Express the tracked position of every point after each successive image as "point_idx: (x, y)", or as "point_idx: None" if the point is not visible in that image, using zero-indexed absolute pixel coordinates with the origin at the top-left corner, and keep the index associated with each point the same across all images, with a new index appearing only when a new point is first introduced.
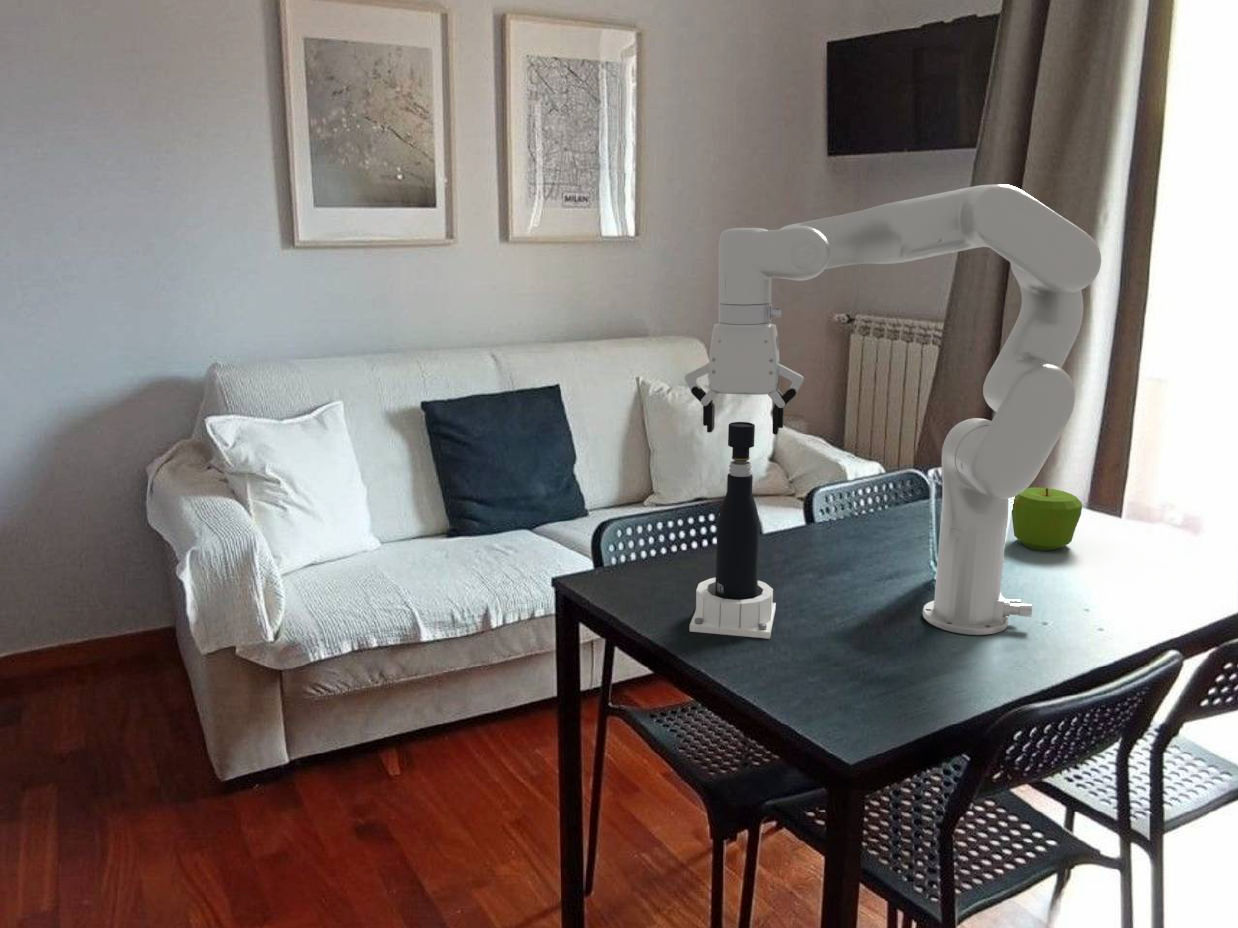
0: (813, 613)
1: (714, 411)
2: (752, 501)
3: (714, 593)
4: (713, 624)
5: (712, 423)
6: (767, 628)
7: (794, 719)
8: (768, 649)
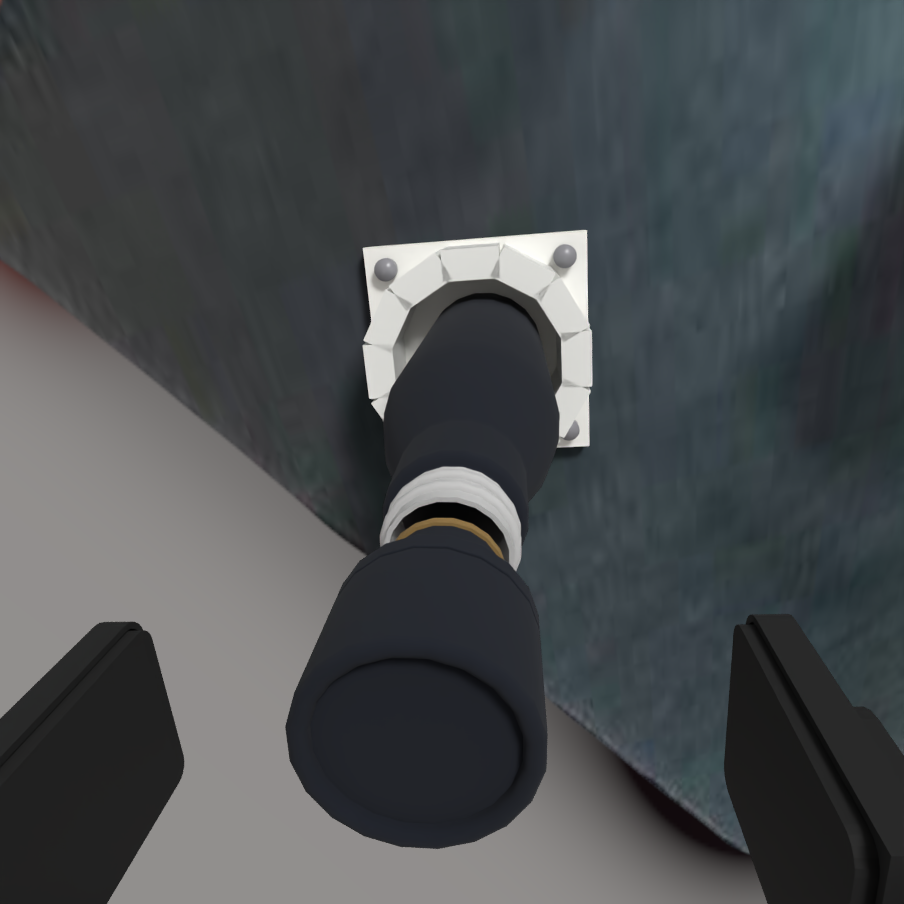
0: (698, 230)
1: (40, 743)
2: (532, 488)
3: (410, 314)
4: None
5: (142, 793)
6: (581, 424)
7: (663, 760)
8: (590, 499)
